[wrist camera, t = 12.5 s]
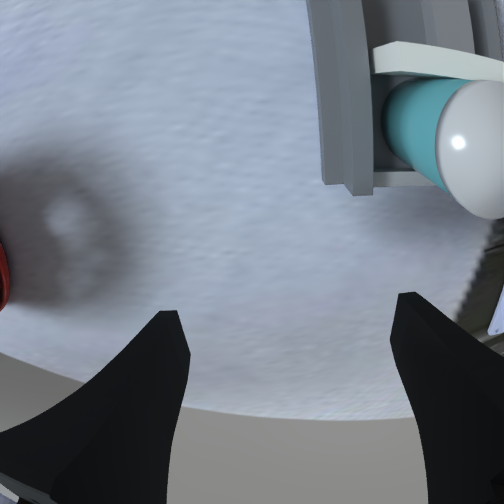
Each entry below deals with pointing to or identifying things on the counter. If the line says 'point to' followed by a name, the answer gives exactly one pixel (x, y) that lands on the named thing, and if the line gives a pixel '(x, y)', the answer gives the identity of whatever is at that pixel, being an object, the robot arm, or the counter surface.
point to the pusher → (438, 48)
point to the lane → (370, 84)
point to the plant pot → (4, 279)
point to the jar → (451, 137)
